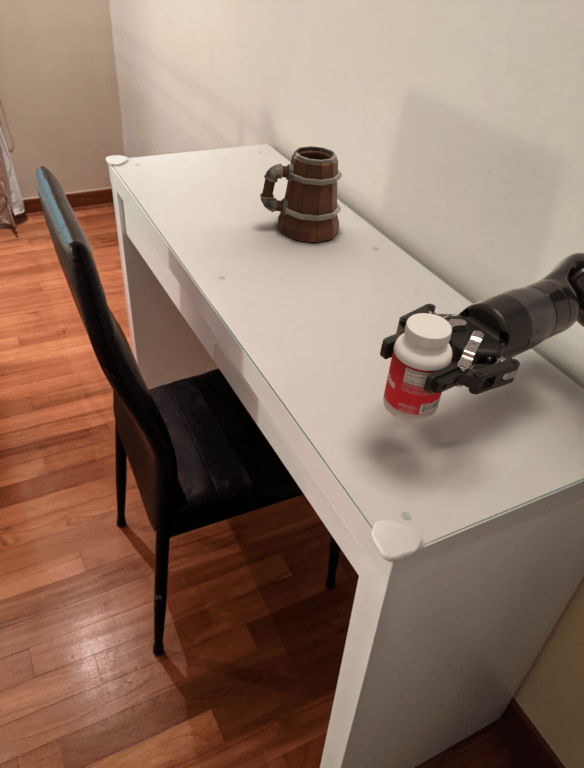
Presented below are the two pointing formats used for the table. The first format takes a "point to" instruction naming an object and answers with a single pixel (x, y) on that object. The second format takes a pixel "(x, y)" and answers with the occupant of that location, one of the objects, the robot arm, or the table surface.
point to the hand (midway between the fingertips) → (404, 367)
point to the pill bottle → (417, 367)
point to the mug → (306, 195)
